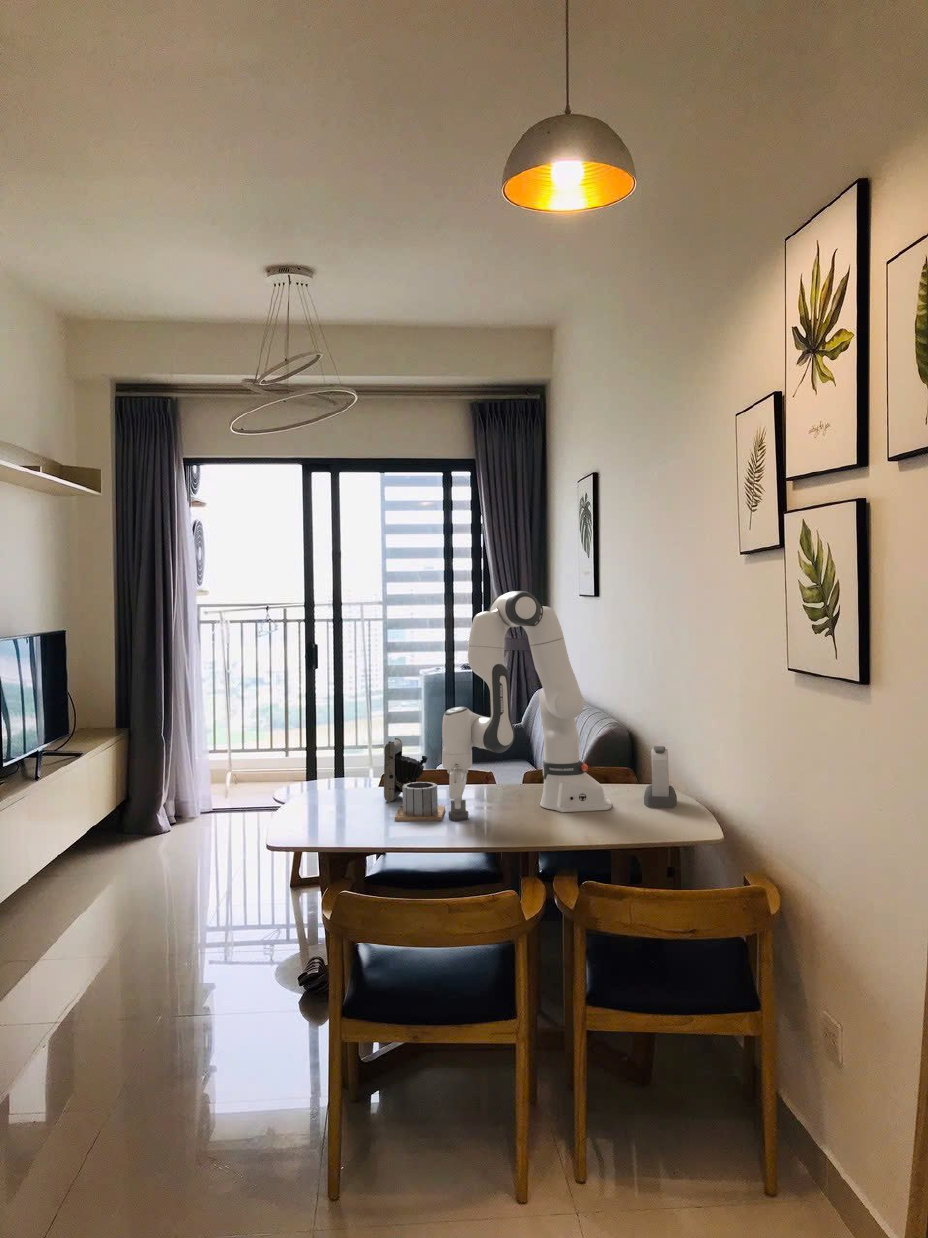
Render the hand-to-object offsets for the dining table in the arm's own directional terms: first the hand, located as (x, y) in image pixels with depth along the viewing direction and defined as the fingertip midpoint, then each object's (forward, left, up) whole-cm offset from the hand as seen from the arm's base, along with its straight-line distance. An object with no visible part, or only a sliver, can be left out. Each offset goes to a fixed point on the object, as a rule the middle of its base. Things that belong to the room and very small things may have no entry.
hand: (458, 807), depth 267 cm
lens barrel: (+12, -4, -3) cm, 13 cm away
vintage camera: (+18, -26, -4) cm, 32 cm away
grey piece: (-63, -18, -4) cm, 66 cm away
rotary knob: (0, 0, -4) cm, 4 cm away
